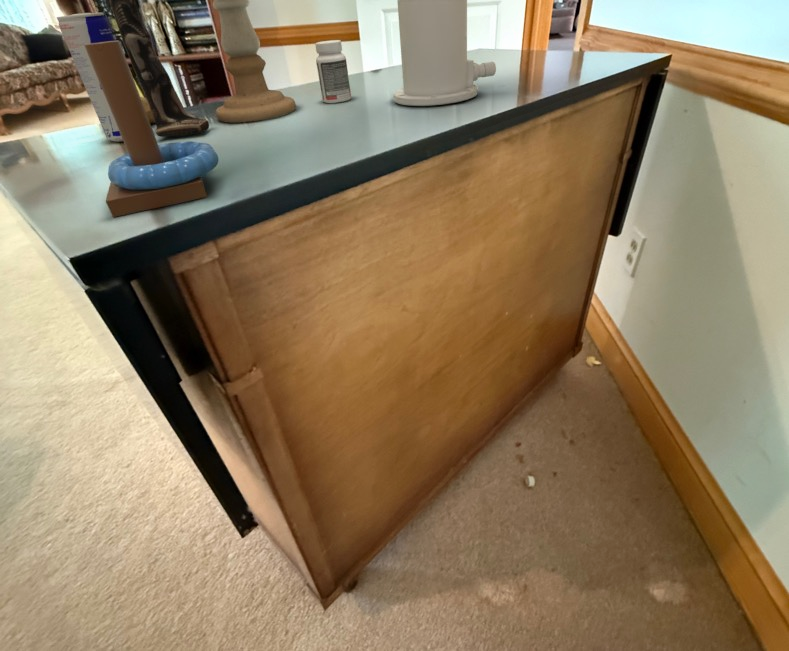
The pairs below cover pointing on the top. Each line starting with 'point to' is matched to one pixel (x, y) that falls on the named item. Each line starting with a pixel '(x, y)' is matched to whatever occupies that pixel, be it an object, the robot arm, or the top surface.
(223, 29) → the candle holder
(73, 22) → the white blue box
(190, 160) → the ring
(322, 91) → the pill bottle
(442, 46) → the robot arm
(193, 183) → the brown upside-down t-shape
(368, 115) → the top surface
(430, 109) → the top surface
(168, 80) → the statue
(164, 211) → the top surface
